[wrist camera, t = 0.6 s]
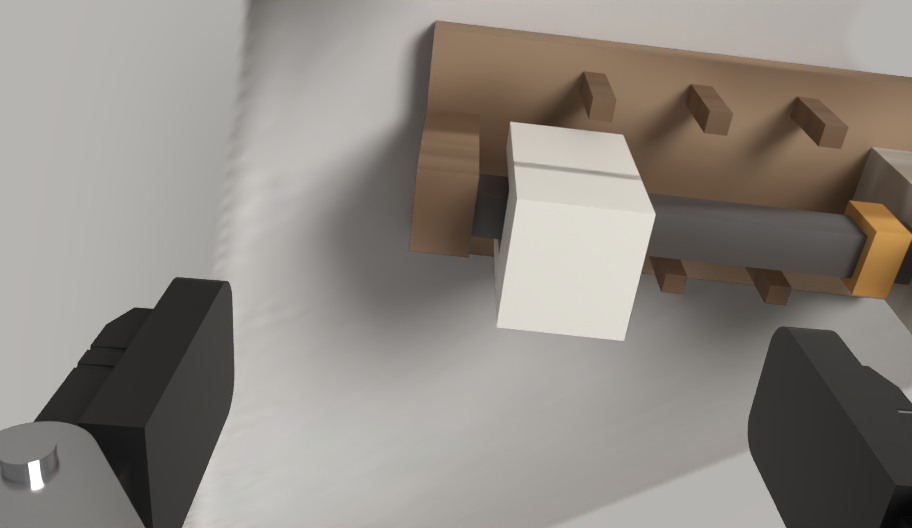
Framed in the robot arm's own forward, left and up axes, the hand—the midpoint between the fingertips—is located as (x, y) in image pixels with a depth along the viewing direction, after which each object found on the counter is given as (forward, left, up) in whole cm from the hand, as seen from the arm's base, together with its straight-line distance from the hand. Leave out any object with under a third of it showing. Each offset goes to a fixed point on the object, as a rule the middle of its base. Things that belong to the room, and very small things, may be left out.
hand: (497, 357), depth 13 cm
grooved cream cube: (+5, +3, -18) cm, 19 cm away
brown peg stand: (+5, +8, -22) cm, 24 cm away
